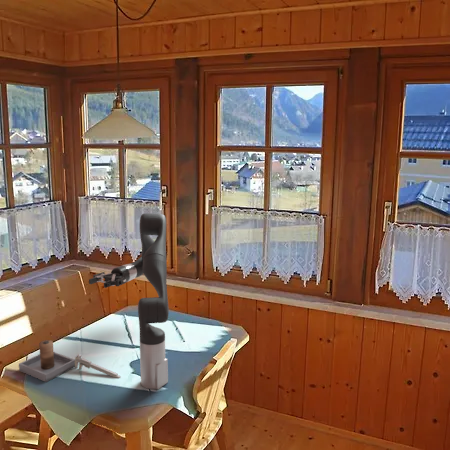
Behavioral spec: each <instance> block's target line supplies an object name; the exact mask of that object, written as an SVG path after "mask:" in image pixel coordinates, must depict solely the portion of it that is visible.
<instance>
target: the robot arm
mask: <svg viewBox="0 0 450 450" xmlns="http://www.w3.org/2000/svg"><path fill="white" fill-rule="evenodd" d="M139 235H140V237H139V238H140V242H141V256H140V257H139V258H138V259H136V260H135V261H134V262H130V263H127V264H123V265H120V266H116V267H115V268H113V269H112V270H111V271H110V272H107V273H105V272H104V271H103V272H100V273H95V274H93V277H91V278H89V279H88V284H89V285H93V284H96V283H103V288H105V289H107V288H110V287H114V286H115V287H120V286H122V285H124V284H126V283H128V282H130V281H132V280H134V279H136V278H140V277H141V276H143V275H144V277H145V278H146V279H147V281H148V282H149V283H150V284H151V286H152V287H154V289H155V291H156V294H157V295H158V297H157V296H156V297H141V298H140V299H139V300H138V304H137V315H138V325H139V326H138V327H139V360H140V361H139V362H140V364H139V365H140V367H139V368H140V384H141V386H142V387H143V388H144V389H145V388H146V389H150V390H151V389H153V390H154V389H155V390H160V389H161V388H162V387H164V386H165V385H167V383H168V382H169V371H168V370H169V367H168V365H169V363H168V362H169V360H168V358H166V333H165V331H164V330H163V329H162V328H159V327H156V326H154V325H152V324H160V323H161V324H163V323H166V322H167V321H168V318H169V314H170V313H169V310H170V308H169V300H168V299H169V298H168V287H167V285H168V284H167V277H168V275H167V272H168V271H167V270H168V267H167V251H166V250H167V248H166V247H167V246H166V245H167V243H166V242H167V239H166V237H167V218H166V215H164V214H163V213H154V212H153V213H152V212H151V213H150V212H149V213H148V212H147V213H141V215H140V217H139ZM151 236H157V237H156V239H155V240H154V239H153V238H152V237H151Z"/></svg>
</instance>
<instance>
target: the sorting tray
mask: <svg viewBox="0 0 450 450" xmlns="http://www.w3.org/2000/svg"><path fill="white" fill-rule="evenodd" d="M74 368H75V358H73V357H72V358H71V357H70V356H66V355H64V354H61V353H58V352H55V351H54V367H53V368H51V369H42V368H41V361H40V353H39V354H37V355H35V356H33V357H30V358H28V359H26V360H24V361H22V362H20V363H18V371H19V372H21V373H24V374H25V373H26V375H28V376H30V375H31V376H30V377H33V378H35V379H37V378H38V379H37V380H41V381H43V382H45V383H49V382H50V381H51V380H53V379H55V378H57V377H60V376H61V375H63V374H65V373H66V372H69V371H70V370H72V369H74Z"/></svg>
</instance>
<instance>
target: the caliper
mask: <svg viewBox="0 0 450 450" xmlns="http://www.w3.org/2000/svg"><path fill="white" fill-rule="evenodd" d="M74 359H75V367H74V368H75V369H78V370H81V369H82V368H83V366H84V367H85V368H87V369H90V368H91V369H93V370H96V371H98V372H100V373H103V374H105V375H107V376H110V377H113V378H117V379H119V378H121V377H122V376H121V375H119V374H118V373H116V372H115V371H112V370H110V369H108V368H105V367H103V366H100V365H98V364H96V363H93V362H92V361H90V360H89V359H86V358H84V357H82V355H80V353H78V354H77V355H76V356H75V357H74Z"/></svg>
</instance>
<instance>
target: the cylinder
mask: <svg viewBox="0 0 450 450" xmlns="http://www.w3.org/2000/svg"><path fill="white" fill-rule="evenodd" d="M38 345H39V354H40V361H41V368H42V369H51V368H53V367H54V352H55V351H54V341H53V340H51V339H45V340H42V341H40V342H39V344H38Z"/></svg>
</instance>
